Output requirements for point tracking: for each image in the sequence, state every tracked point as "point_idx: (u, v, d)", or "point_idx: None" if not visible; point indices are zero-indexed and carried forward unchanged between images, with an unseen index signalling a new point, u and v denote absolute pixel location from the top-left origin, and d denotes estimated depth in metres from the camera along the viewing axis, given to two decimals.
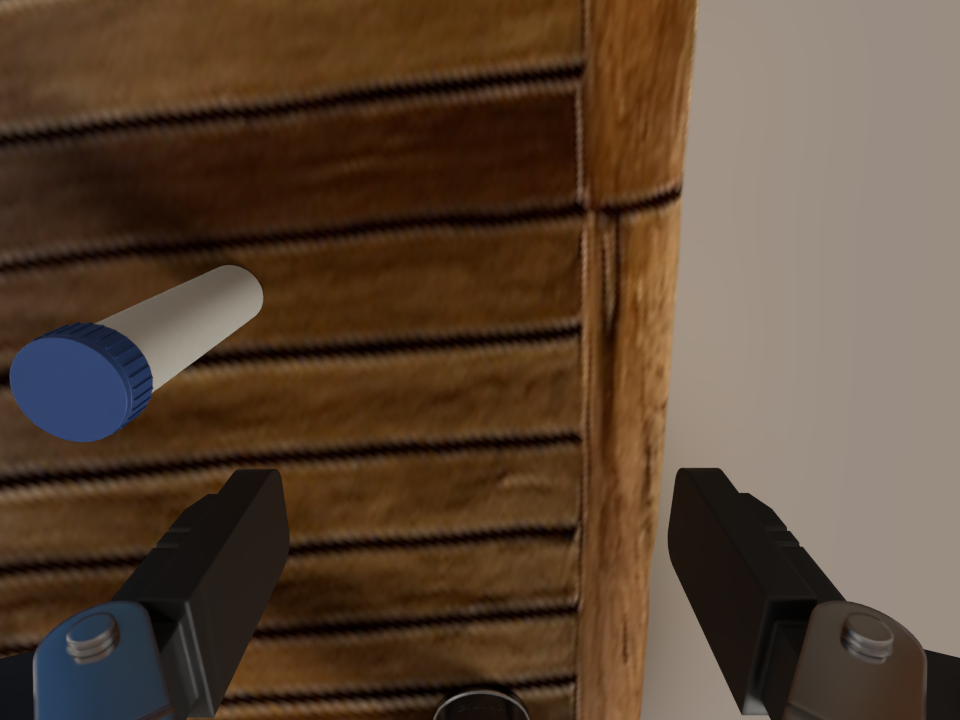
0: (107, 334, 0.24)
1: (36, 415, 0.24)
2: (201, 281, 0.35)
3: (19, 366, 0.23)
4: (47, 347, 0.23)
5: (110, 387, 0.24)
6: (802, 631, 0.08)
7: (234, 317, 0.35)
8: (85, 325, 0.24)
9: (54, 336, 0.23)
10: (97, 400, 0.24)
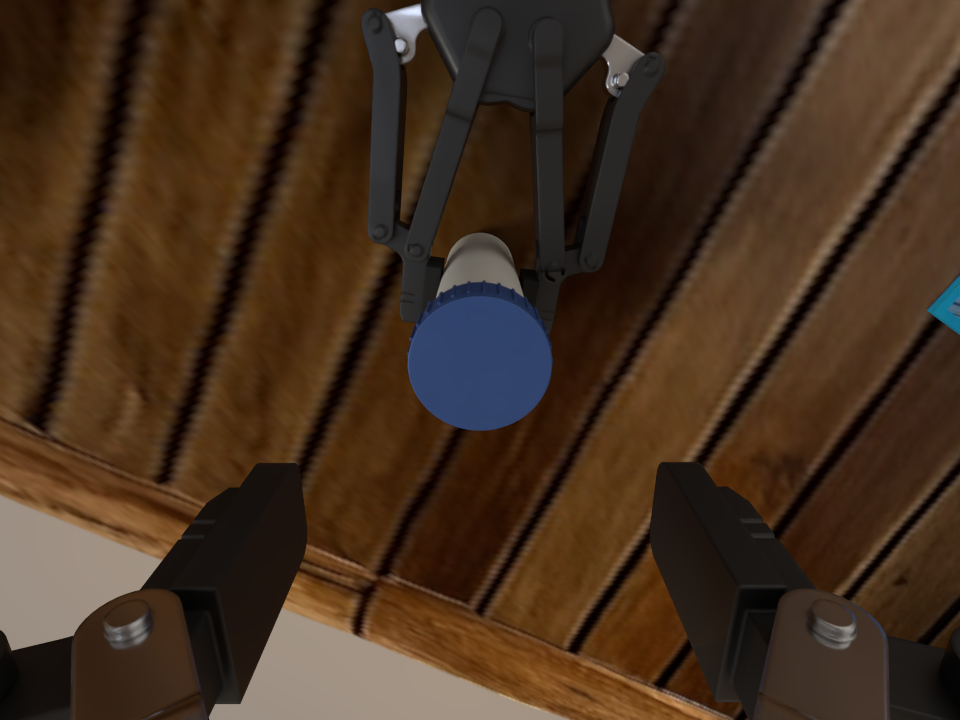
0: None
1: (476, 308, 0.18)
2: None
3: (537, 339, 0.19)
4: (535, 385, 0.19)
5: (457, 411, 0.19)
6: (772, 619, 0.08)
7: None
8: None
9: None
10: (453, 387, 0.19)
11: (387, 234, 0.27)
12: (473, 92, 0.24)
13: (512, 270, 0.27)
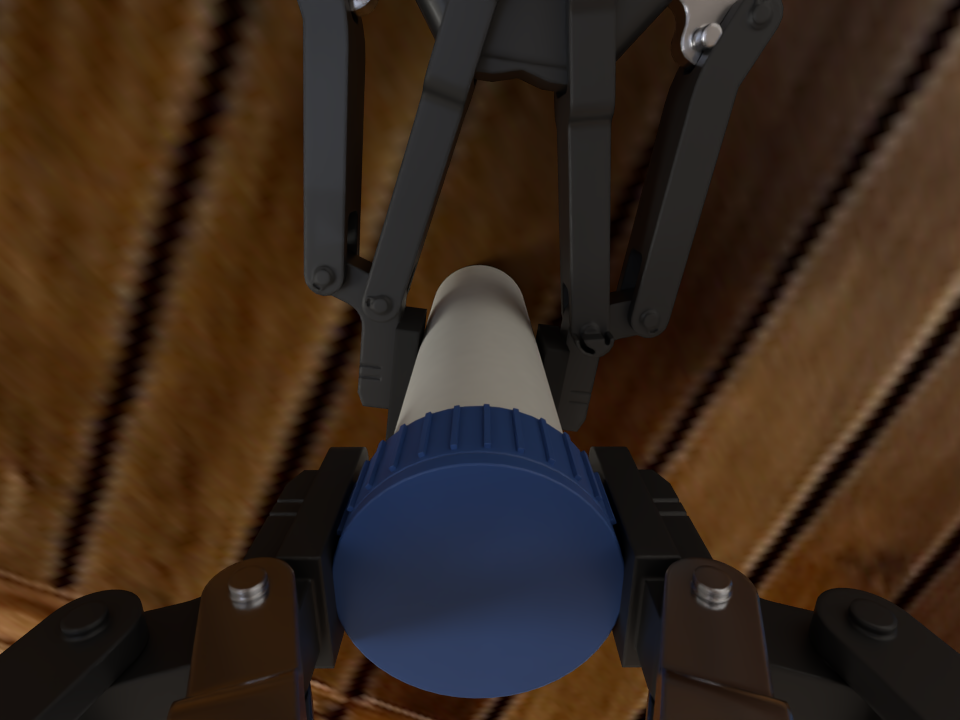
0: None
1: (471, 487, 0.09)
2: None
3: (597, 544, 0.09)
4: (590, 624, 0.09)
5: (434, 667, 0.10)
6: None
7: None
8: None
9: None
10: (424, 629, 0.09)
11: (335, 281, 0.17)
12: (467, 55, 0.15)
13: (529, 336, 0.17)
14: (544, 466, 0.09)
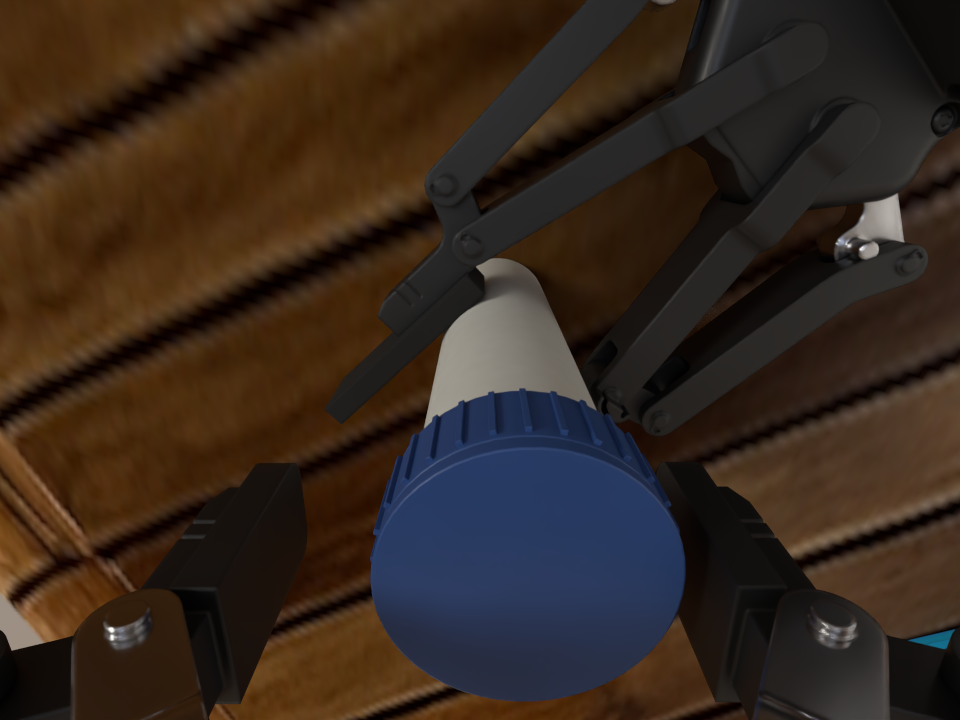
0: None
1: (458, 491, 0.08)
2: None
3: (615, 490, 0.08)
4: (659, 571, 0.09)
5: (531, 676, 0.09)
6: (771, 619, 0.08)
7: None
8: None
9: None
10: (498, 643, 0.09)
11: (451, 196, 0.16)
12: (712, 116, 0.15)
13: None
14: (521, 437, 0.08)
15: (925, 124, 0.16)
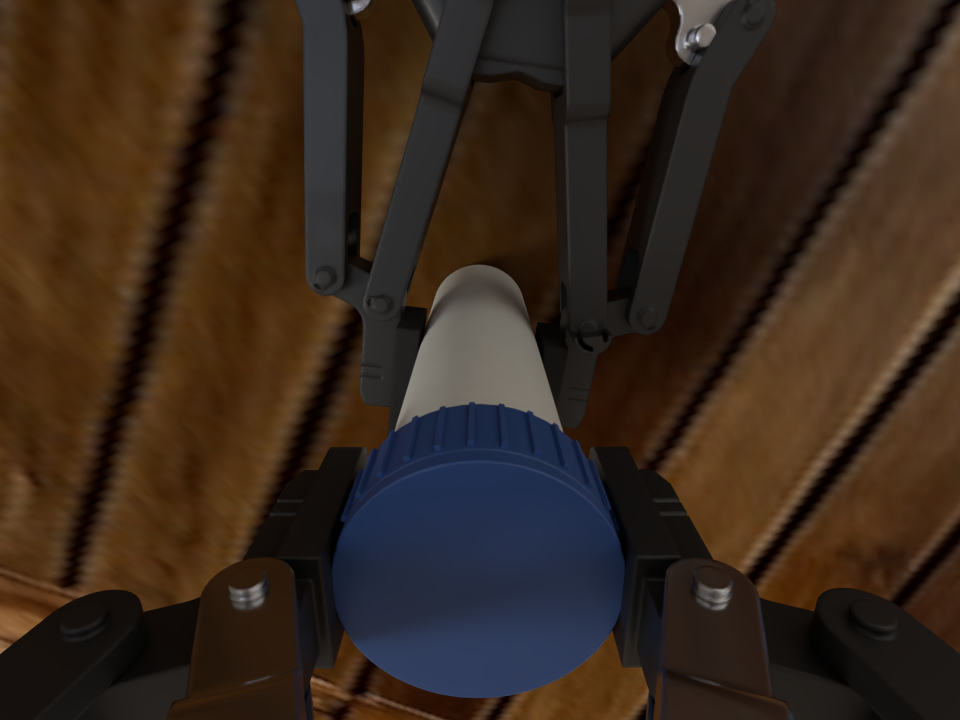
0: None
1: (359, 558, 0.09)
2: None
3: (467, 479, 0.08)
4: (566, 513, 0.09)
5: (551, 652, 0.10)
6: None
7: None
8: None
9: (599, 507, 0.09)
10: (501, 644, 0.10)
11: (336, 281, 0.18)
12: (465, 57, 0.15)
13: (528, 333, 0.18)
14: (374, 487, 0.09)
15: None
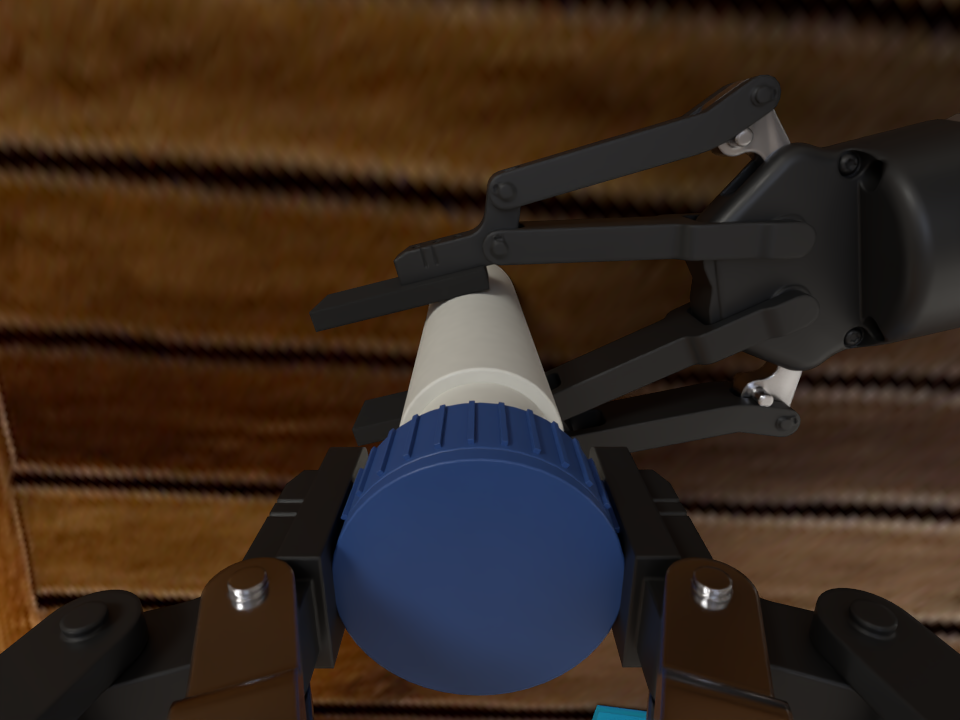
0: None
1: (360, 556, 0.09)
2: None
3: (467, 477, 0.09)
4: (565, 511, 0.09)
5: (551, 650, 0.10)
6: None
7: None
8: (597, 473, 0.10)
9: (598, 505, 0.09)
10: (501, 642, 0.10)
11: (505, 202, 0.19)
12: (717, 251, 0.19)
13: None
14: (374, 485, 0.09)
15: (841, 333, 0.21)
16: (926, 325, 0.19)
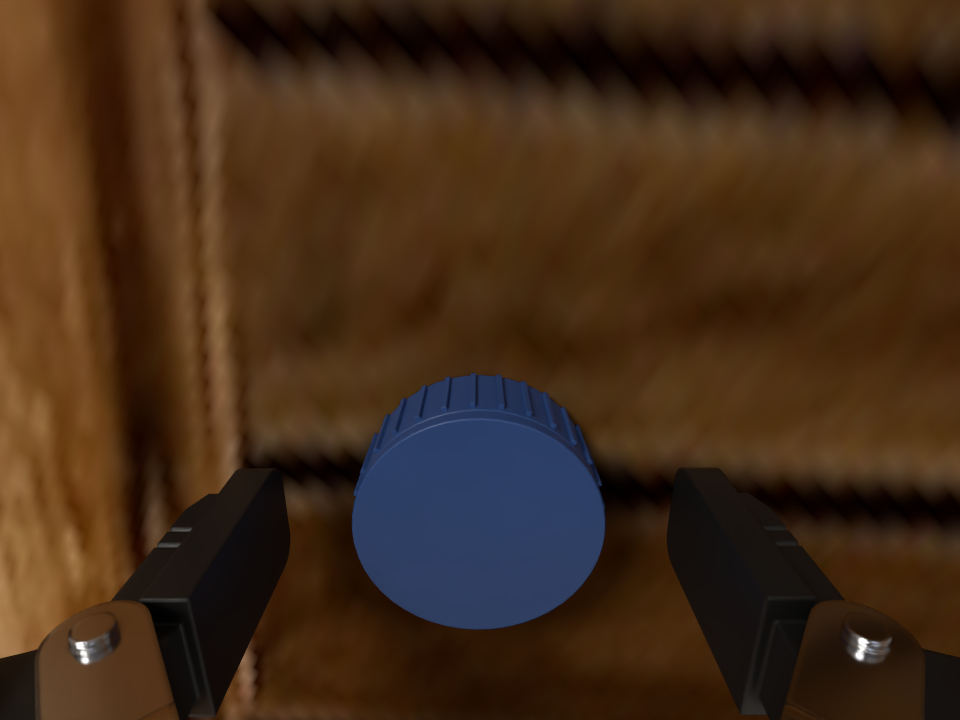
0: None
1: (377, 503, 0.10)
2: None
3: (469, 434, 0.10)
4: (553, 464, 0.10)
5: (541, 588, 0.11)
6: (801, 631, 0.08)
7: None
8: (582, 437, 0.12)
9: (581, 459, 0.10)
10: (498, 580, 0.11)
11: None
12: None
13: None
14: (390, 442, 0.10)
15: None
16: None
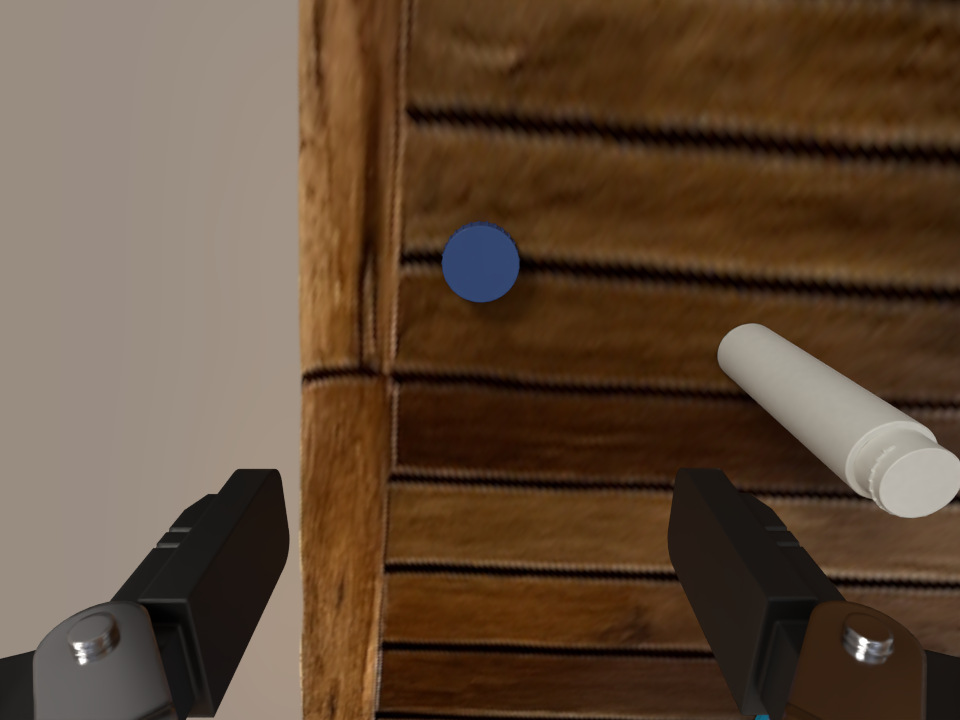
0: None
1: (450, 254, 0.35)
2: None
3: (478, 231, 0.35)
4: (502, 241, 0.35)
5: (500, 285, 0.36)
6: (802, 631, 0.08)
7: (752, 369, 0.35)
8: None
9: (511, 240, 0.35)
10: (486, 283, 0.36)
11: None
12: None
13: None
14: (454, 235, 0.35)
15: None
16: None
